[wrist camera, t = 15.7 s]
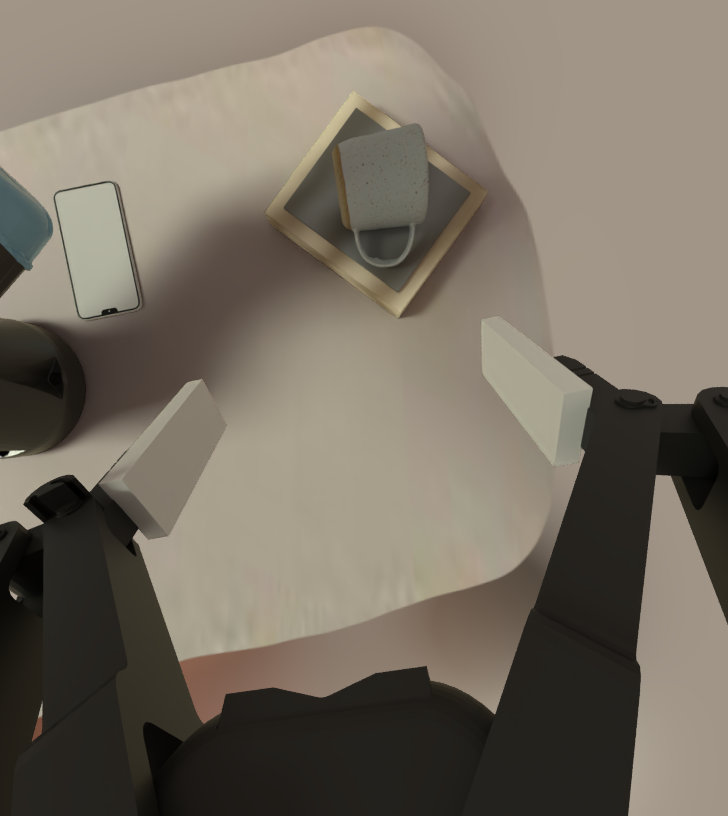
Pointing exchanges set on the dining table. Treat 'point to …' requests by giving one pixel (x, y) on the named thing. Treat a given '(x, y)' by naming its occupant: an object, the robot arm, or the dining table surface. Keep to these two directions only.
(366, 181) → the ceramic mug
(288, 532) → the dining table surface
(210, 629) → the dining table surface
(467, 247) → the dining table surface
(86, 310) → the smartphone
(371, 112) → the wooden picture frame
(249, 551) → the dining table surface
